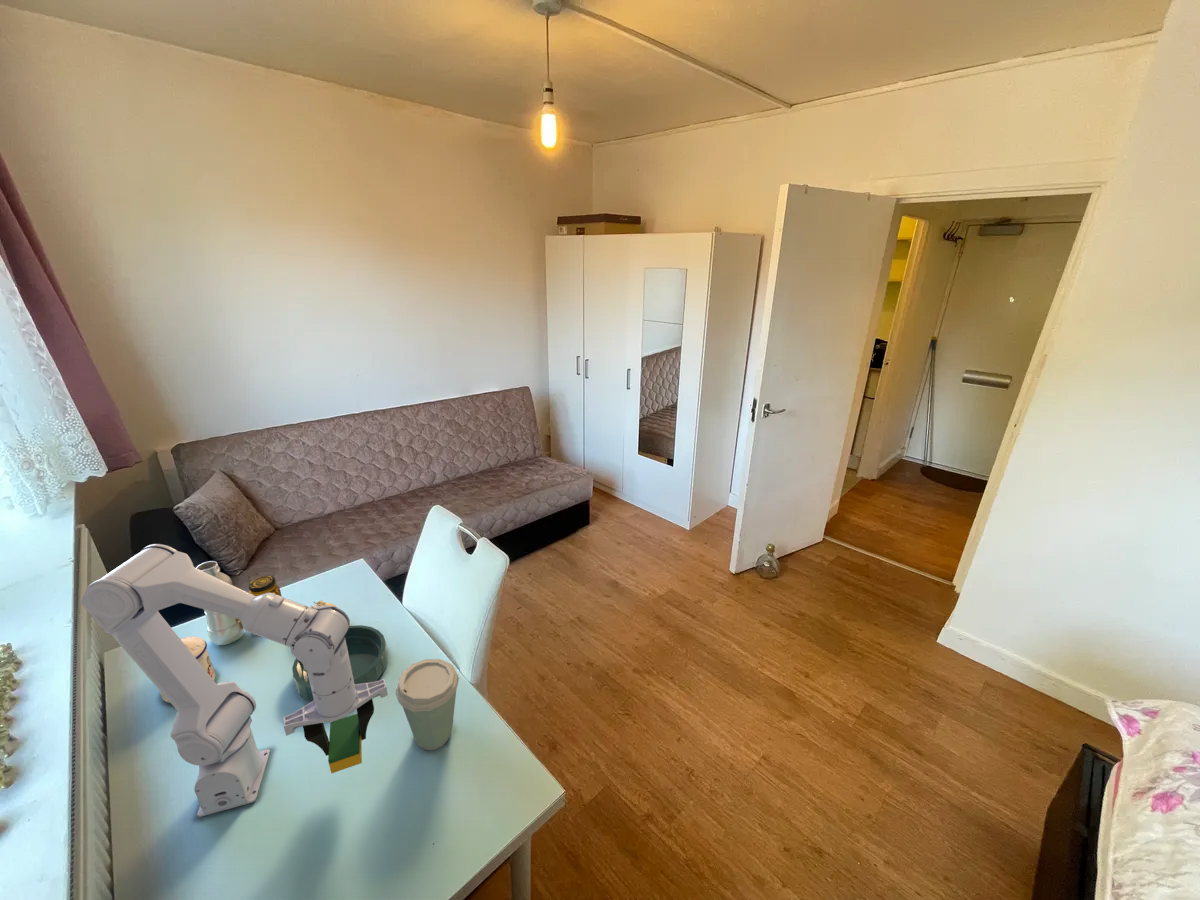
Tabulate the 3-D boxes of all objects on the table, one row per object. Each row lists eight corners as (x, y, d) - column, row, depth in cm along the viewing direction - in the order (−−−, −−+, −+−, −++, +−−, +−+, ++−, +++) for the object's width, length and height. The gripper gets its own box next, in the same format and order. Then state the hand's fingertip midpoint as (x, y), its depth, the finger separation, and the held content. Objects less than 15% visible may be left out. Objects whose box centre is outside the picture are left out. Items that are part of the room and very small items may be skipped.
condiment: (254, 636, 113) (241, 594, 109) (257, 613, 120) (246, 573, 116) (290, 626, 117) (279, 585, 112) (292, 605, 124) (282, 565, 119)
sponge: (361, 763, 79) (359, 750, 78) (331, 773, 77) (328, 760, 76) (361, 725, 85) (358, 712, 84) (333, 734, 84) (330, 721, 83)
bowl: (385, 692, 100) (383, 676, 98) (287, 715, 94) (283, 698, 93) (390, 633, 115) (387, 618, 114) (305, 650, 110) (302, 634, 108)
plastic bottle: (214, 633, 114) (191, 561, 106) (249, 625, 117) (228, 554, 109) (207, 652, 108) (182, 577, 101) (244, 643, 111) (222, 570, 104)
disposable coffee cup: (442, 701, 98) (435, 644, 93) (475, 733, 92) (470, 673, 87) (393, 738, 91) (382, 677, 85) (425, 775, 84) (416, 712, 79)
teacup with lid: (225, 682, 101) (210, 638, 97) (170, 713, 94) (152, 667, 90) (201, 656, 107) (186, 614, 103) (148, 684, 100) (130, 639, 96)
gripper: (377, 646, 83) (387, 705, 88) (276, 681, 75) (294, 743, 80) (385, 675, 77) (395, 736, 82) (277, 716, 70) (296, 780, 75)
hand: (345, 742), depth 81 cm, fingers closed on sponge, 5 cm apart
